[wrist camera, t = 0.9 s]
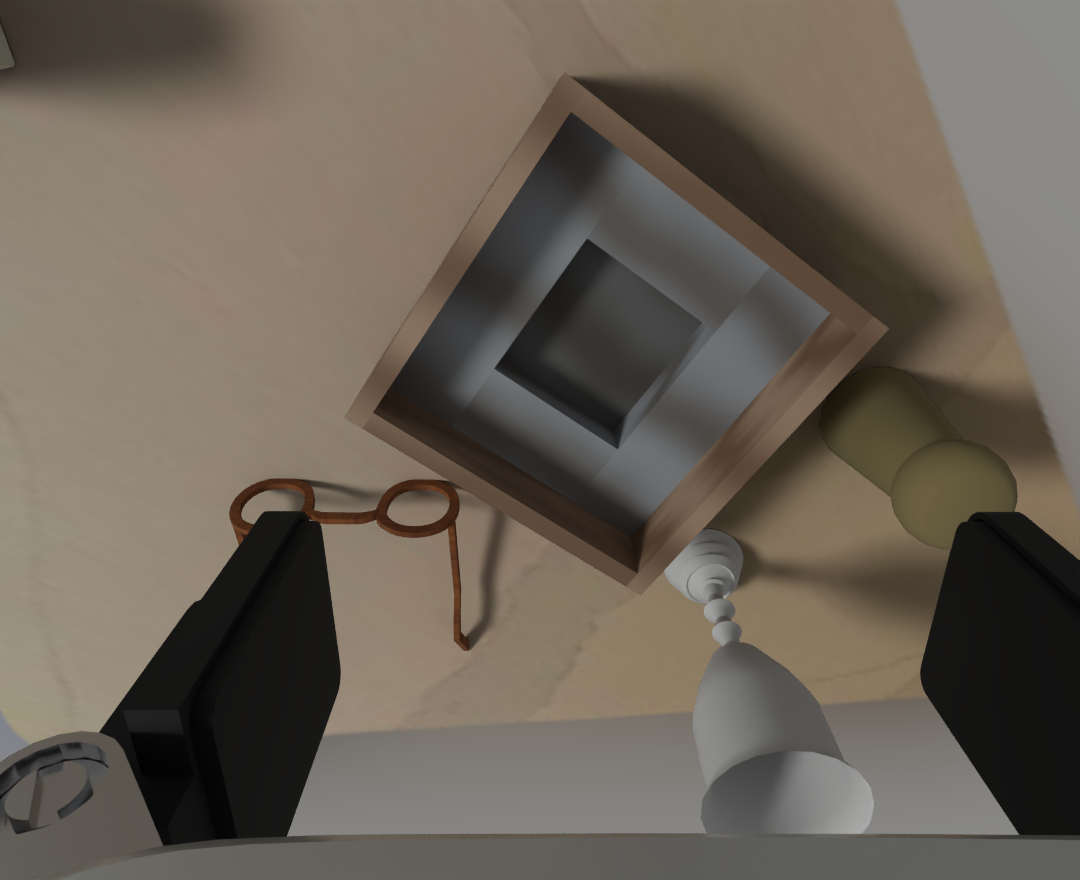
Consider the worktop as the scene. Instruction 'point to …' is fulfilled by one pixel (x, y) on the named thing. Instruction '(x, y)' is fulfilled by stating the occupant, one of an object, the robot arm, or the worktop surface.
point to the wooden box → (609, 346)
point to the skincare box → (5, 53)
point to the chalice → (760, 722)
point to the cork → (914, 454)
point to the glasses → (365, 517)
